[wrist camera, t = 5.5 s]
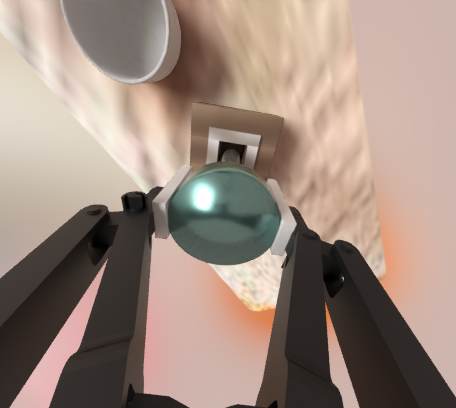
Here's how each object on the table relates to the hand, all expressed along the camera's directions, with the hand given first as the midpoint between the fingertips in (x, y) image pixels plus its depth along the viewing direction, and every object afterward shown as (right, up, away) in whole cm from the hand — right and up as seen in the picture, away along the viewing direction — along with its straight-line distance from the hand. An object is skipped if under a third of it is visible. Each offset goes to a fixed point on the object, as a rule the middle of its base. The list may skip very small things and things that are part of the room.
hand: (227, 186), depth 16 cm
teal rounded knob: (0, +5, +8) cm, 9 cm away
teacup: (-12, +22, +8) cm, 26 cm away
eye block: (+1, +8, +14) cm, 17 cm away
